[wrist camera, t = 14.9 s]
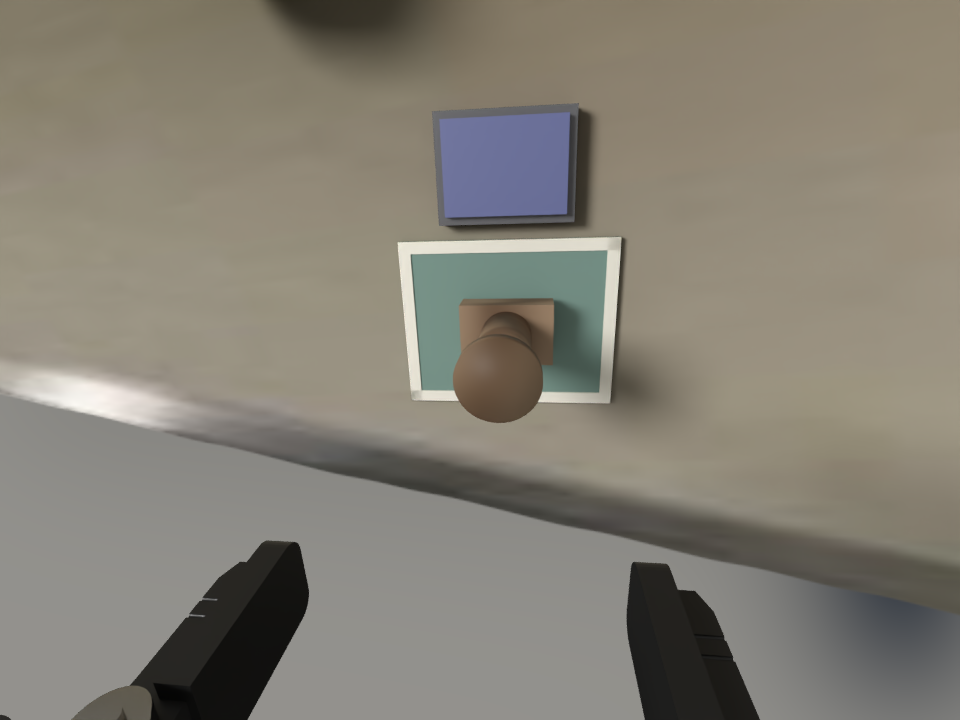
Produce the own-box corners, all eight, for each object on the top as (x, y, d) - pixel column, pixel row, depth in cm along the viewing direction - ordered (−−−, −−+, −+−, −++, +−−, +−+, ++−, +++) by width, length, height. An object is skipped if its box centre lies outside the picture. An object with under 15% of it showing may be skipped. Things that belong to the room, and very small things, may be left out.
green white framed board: (620, 236, 30) (621, 237, 29) (609, 400, 33) (610, 403, 33) (399, 241, 31) (397, 242, 31) (413, 397, 35) (411, 400, 35)
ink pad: (576, 106, 27) (579, 101, 26) (572, 220, 30) (575, 222, 28) (436, 114, 28) (430, 109, 27) (442, 224, 31) (437, 226, 29)
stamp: (552, 293, 31) (561, 338, 21) (551, 355, 32) (558, 424, 23) (464, 294, 32) (433, 338, 22) (467, 354, 33) (439, 421, 23)
